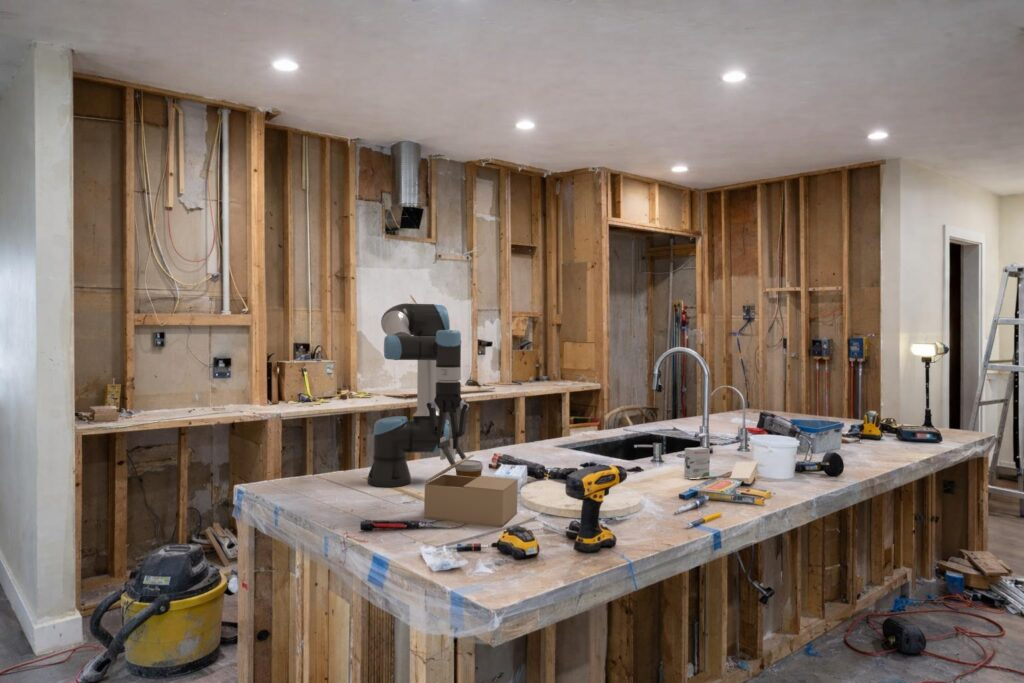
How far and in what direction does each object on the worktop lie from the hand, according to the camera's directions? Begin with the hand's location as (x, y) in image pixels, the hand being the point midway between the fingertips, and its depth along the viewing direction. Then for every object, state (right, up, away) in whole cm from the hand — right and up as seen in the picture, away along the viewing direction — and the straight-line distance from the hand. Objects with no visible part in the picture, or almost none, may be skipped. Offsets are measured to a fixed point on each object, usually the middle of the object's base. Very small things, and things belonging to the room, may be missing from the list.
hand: (447, 459), depth 206 cm
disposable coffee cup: (+5, -16, +19) cm, 25 cm away
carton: (+7, -17, -2) cm, 18 cm away
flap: (+1, -3, 0) cm, 3 cm away
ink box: (+91, -18, +59) cm, 110 cm away
